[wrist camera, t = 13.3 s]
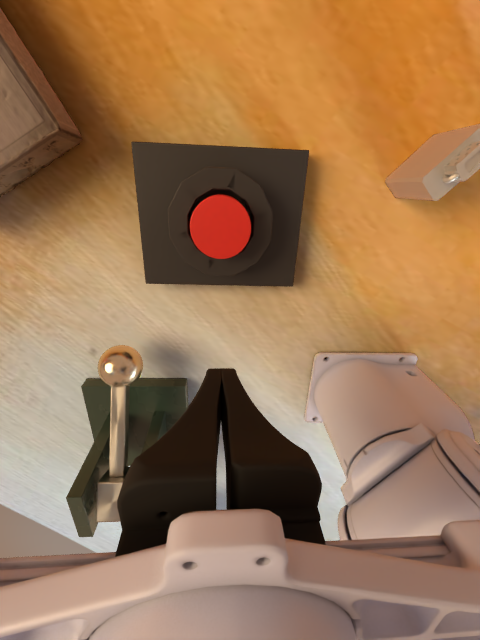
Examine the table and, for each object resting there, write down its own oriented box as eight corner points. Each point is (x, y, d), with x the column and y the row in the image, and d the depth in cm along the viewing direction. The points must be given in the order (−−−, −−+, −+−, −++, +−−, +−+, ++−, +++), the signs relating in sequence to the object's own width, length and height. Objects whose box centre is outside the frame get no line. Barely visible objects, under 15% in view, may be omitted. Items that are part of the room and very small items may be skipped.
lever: (108, 343, 24) (90, 346, 21) (148, 344, 24) (136, 346, 21) (104, 499, 23) (85, 526, 20) (144, 498, 24) (132, 525, 20)
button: (250, 195, 18) (253, 196, 16) (247, 253, 19) (249, 260, 18) (191, 193, 18) (188, 194, 16) (193, 252, 19) (190, 258, 18)
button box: (303, 152, 20) (317, 147, 17) (289, 281, 23) (298, 294, 20) (137, 144, 19) (121, 137, 16) (150, 278, 23) (139, 291, 20)
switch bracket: (86, 378, 26) (22, 469, 18) (187, 378, 27) (170, 466, 18) (104, 456, 31) (58, 559, 22) (190, 455, 31) (178, 555, 23)
